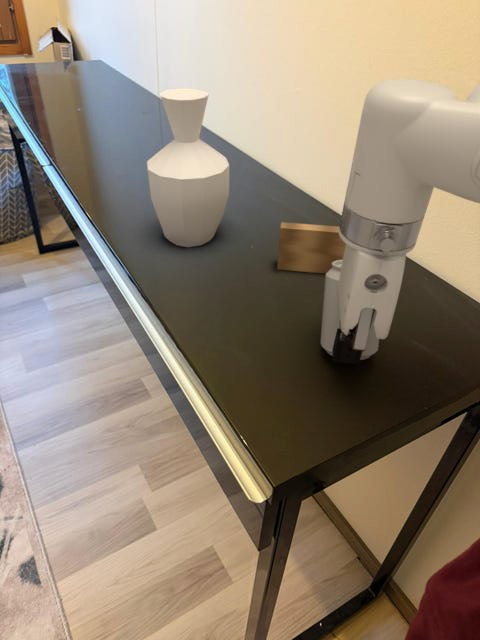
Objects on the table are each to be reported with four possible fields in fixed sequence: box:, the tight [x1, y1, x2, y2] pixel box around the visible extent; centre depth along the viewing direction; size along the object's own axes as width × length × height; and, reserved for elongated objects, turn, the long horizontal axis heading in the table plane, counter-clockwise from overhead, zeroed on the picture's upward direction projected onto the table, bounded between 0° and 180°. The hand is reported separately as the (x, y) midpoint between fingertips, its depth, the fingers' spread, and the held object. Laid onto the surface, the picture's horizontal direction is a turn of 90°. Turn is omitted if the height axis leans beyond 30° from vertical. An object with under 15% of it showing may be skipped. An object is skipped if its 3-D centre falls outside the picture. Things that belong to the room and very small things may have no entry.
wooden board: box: [276, 221, 346, 275], centre depth 76 cm, size 16×2×8 cm, turn 82°
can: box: [320, 260, 380, 361], centre depth 59 cm, size 8×8×12 cm
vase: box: [146, 87, 230, 248], centre depth 79 cm, size 14×14×25 cm
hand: (345, 358), depth 56 cm, fingers closed
